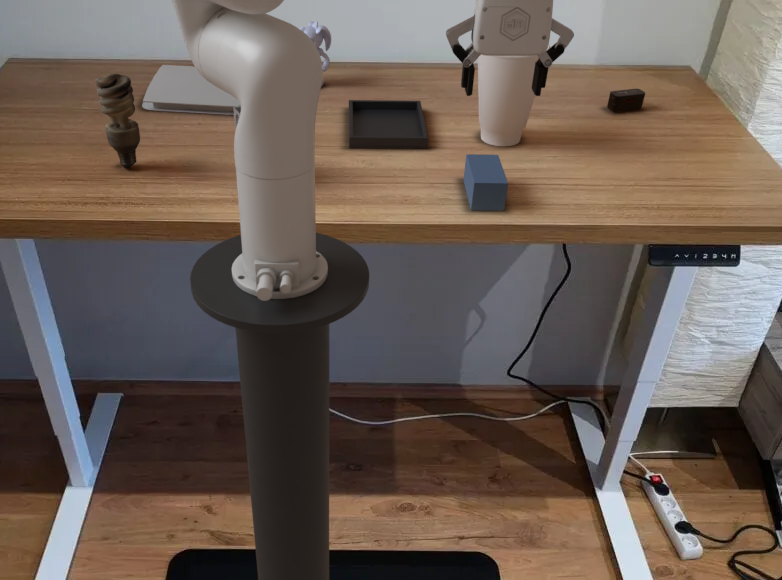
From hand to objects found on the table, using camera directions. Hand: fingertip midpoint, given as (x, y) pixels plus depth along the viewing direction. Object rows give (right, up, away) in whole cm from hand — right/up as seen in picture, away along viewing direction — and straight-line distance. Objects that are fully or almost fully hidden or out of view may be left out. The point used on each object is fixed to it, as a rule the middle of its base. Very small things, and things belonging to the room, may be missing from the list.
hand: (501, 92), depth 115 cm
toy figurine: (-29, +18, +47) cm, 58 cm away
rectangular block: (-1, -12, +10) cm, 16 cm away
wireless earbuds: (+31, +11, +38) cm, 51 cm away
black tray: (-15, +4, +30) cm, 34 cm away
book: (-49, +14, +41) cm, 65 cm away
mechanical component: (-37, -8, +15) cm, 41 cm away
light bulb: (-58, -6, +17) cm, 61 cm away
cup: (+5, +1, +27) cm, 27 cm away
